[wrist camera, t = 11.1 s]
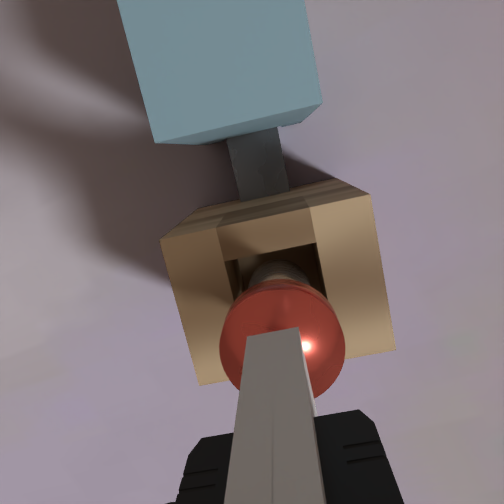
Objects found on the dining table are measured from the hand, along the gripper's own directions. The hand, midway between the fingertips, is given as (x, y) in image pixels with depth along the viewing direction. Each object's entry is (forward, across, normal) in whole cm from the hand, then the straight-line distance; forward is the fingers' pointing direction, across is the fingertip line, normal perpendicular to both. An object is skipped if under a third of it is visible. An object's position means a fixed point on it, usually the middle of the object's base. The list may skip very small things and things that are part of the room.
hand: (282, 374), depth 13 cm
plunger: (+8, 0, 0) cm, 8 cm away
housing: (+17, 0, 0) cm, 17 cm away
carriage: (+17, 0, +10) cm, 20 cm away
